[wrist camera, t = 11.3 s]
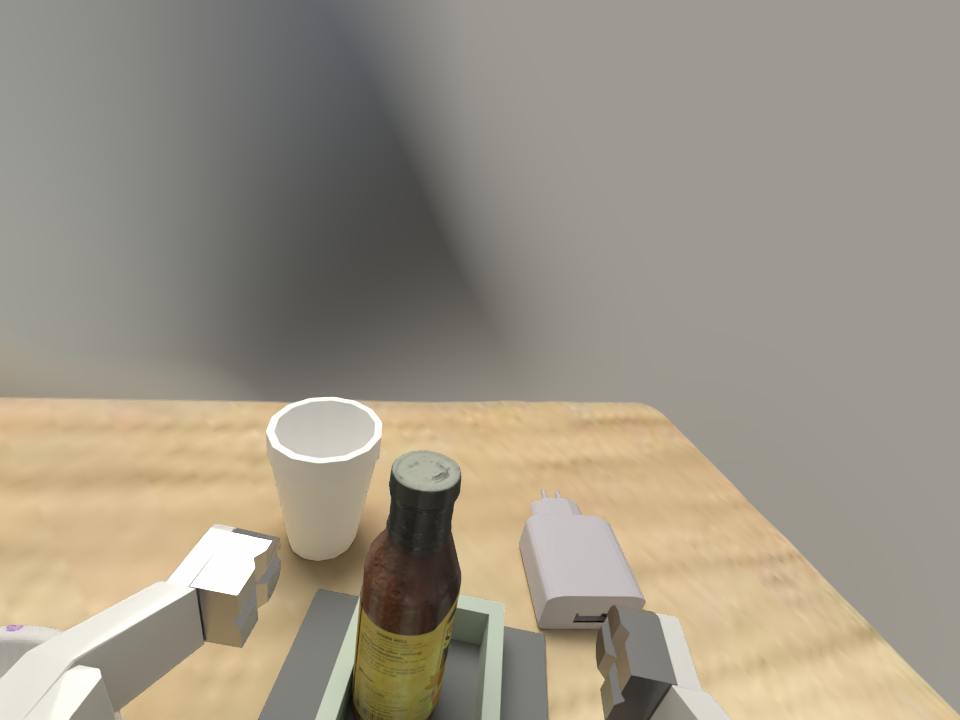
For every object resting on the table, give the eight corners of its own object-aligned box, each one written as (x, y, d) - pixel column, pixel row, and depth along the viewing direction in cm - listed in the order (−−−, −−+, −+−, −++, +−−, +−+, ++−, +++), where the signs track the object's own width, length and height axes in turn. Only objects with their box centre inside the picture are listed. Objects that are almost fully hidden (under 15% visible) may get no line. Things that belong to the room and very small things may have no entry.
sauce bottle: (448, 731, 32) (505, 505, 24) (356, 765, 29) (388, 523, 22) (422, 644, 37) (462, 436, 30) (342, 665, 34) (364, 444, 27)
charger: (580, 508, 55) (631, 630, 42) (507, 504, 53) (535, 631, 40) (592, 478, 53) (649, 597, 40) (515, 473, 51) (549, 596, 38)
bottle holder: (299, 794, 28) (299, 762, 26) (363, 606, 39) (367, 575, 37) (483, 832, 28) (496, 802, 26) (495, 633, 39) (504, 603, 37)
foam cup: (251, 564, 41) (243, 449, 35) (295, 492, 49) (294, 389, 43) (356, 583, 41) (365, 472, 35) (382, 507, 49) (393, 408, 44)
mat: (201, 847, 25) (200, 845, 25) (318, 591, 40) (318, 588, 40) (553, 919, 25) (555, 917, 25) (543, 637, 40) (544, 634, 39)
